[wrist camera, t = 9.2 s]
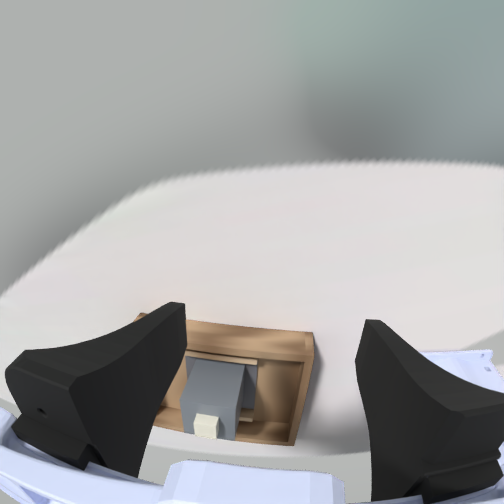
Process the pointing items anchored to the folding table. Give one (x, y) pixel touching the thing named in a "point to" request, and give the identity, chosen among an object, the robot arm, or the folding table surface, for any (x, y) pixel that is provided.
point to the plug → (213, 399)
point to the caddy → (250, 377)
